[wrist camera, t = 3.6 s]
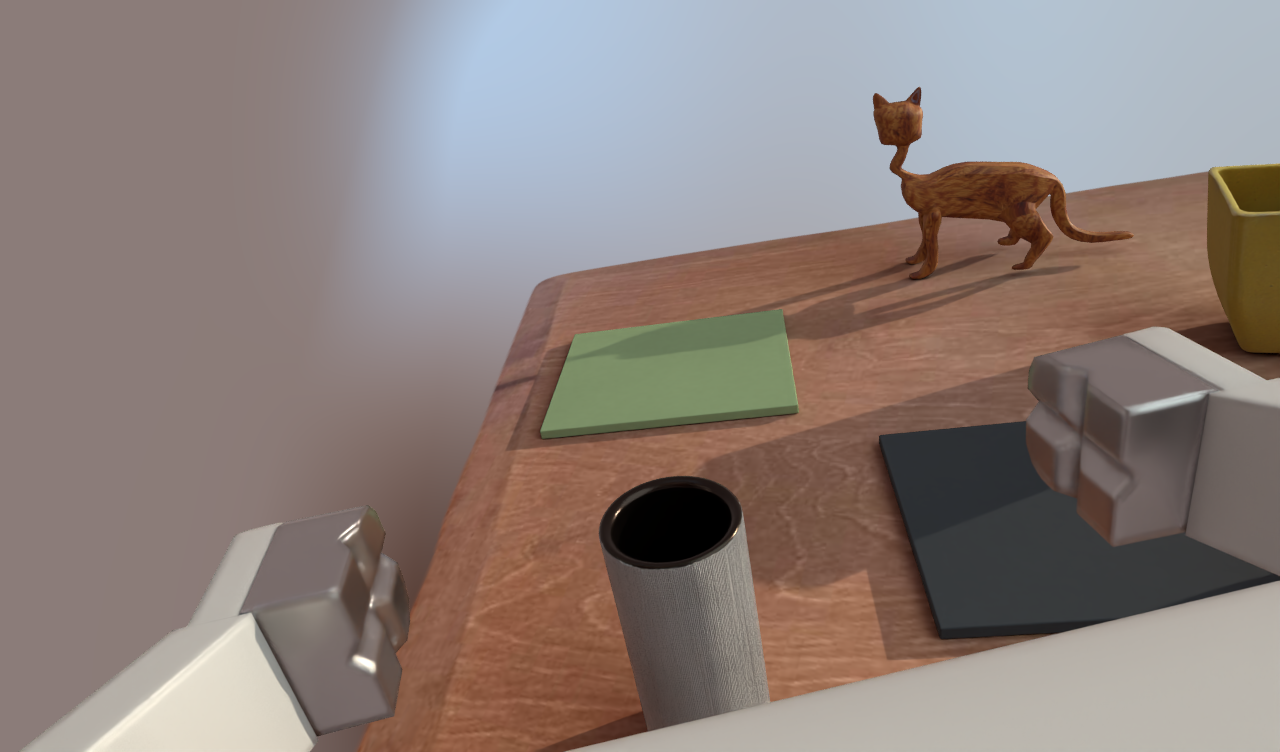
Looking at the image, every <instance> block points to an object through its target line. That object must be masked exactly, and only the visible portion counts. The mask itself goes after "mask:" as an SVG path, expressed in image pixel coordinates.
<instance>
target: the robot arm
mask: <svg viewBox="0 0 1280 752" xmlns="http://www.w3.org/2000/svg"><path fill="white" fill-rule="evenodd" d="M1028 389H1029V391H1030V392H1031V393H1032V394H1033V395H1034V396H1035V397H1036V399H1037V400H1038V401H1039V402H1038V403H1037V405H1036V406H1035V408H1034V409H1033V411H1032V412H1031V414H1030V415H1029V416H1028V418H1027V419H1026V445H1027V448H1028V452H1029V455H1030V458H1031V462H1032V464H1033V466H1034V468H1035V469H1036V471H1037V473H1038V474H1039V476H1040V477H1041V479H1042V480H1043V481H1044V482H1045V483H1046V484H1047V485H1048V486H1049V487H1050V488H1051V489H1052V490H1053V491H1056V492H1059V493H1062V494H1065V495H1068V496H1071V497H1074V498H1077V511H1076V513H1077V514H1078V515H1080V516H1081V517H1082V518H1083V519H1084V520H1085V521H1086V522H1087V523H1088V524H1089V525H1090V526H1091V527H1092V528H1093V529H1094V530H1095V531H1097V532H1098V533H1099V534H1100V535H1101V536H1102V537H1103V538H1104V539H1105V540H1106V541H1107V542H1108V543H1109V544H1110V545H1111V546H1112V547H1116V546H1121V545H1125V544H1130V543H1135V542H1140V541H1145V540H1150V539H1154V538H1159V537H1164V536H1169V535H1174V534H1179V533H1183V532H1186V536H1188V537H1190V538H1193V539H1195V540H1197V541H1199V542H1202V543H1204V544H1206V545H1209V546H1211V547H1213V548H1216V549H1218V550H1220V551H1223V552H1225V553H1227V554H1230V555H1232V556H1234V557H1237V558H1239V559H1241V560H1244V561H1246V562H1248V563H1251V564H1253V565H1255V566H1257V567H1260V568H1262V569H1264V570H1267V571H1269V572H1271V573H1274V574H1276V575H1278V576H1280V378H1276V379H1272V380H1265V379H1263V378H1262V377H1260V376H1258V375H1256V374H1254V373H1252V372H1250V371H1248V370H1246V369H1245V368H1243V367H1241V366H1239V365H1237V364H1235V363H1233V362H1231V361H1229V360H1227V359H1226V358H1224V357H1222V356H1220V355H1218V354H1216V353H1214V352H1212V351H1210V350H1209V349H1207V348H1205V347H1203V346H1201V345H1199V344H1197V343H1195V342H1193V341H1191V340H1190V339H1188V338H1186V337H1184V336H1182V335H1180V334H1178V333H1176V332H1174V331H1173V330H1171V329H1169V328H1164V327H1150V328H1146V329H1142V330H1139V331H1135V332H1131V333H1127V334H1123V335H1120V336H1116V337H1113V338H1109V339H1105V340H1101V341H1097V342H1093V343H1089V344H1085V345H1081V346H1077V347H1073V348H1069V349H1065V350H1061V351H1057V352H1053V353H1049V354H1045V355H1041V356H1038V357H1034V359H1033V362H1032V364H1031V367H1030V369H1029V378H1028ZM385 535H386V533H385V531H384V529H383V527H382V524H381V522H380V520H379V517H378V515H377V513H376V511H375V510H373V509H372V508H371V507H370V506H368V505H366V506H361V507H356V508H352V509H347V510H342V511H337V512H332V513H327V514H322V515H317V516H312V517H308V518H303V519H298V520H293V521H288V522H285V523H276V524H272V525H268V526H264V527H260V528H256V529H251V530H247V531H244V532H242V533H239V534H237V535H235V536H234V538H233V540H232V542H231V543H230V545H229V547H228V549H227V551H226V553H225V555H224V557H223V559H222V561H221V563H220V564H219V566H218V568H217V570H216V572H215V574H214V576H213V578H212V580H211V582H210V584H209V586H208V588H207V590H206V591H205V593H204V595H203V597H202V599H201V601H200V603H199V605H198V607H197V609H196V610H195V613H194V614H193V616H192V618H191V620H190V622H189V624H188V626H187V627H185V628H181V629H177V630H173V631H171V632H170V633H169V634H168V635H166V636H165V637H164V638H162V639H161V640H160V641H159V642H157V643H156V644H155V645H154V646H152V647H151V648H150V649H149V650H147V651H146V652H145V653H143V654H142V655H141V656H140V657H138V658H137V659H136V660H135V661H133V662H132V663H131V664H129V665H128V666H127V667H126V668H124V669H123V670H122V671H121V672H119V673H118V674H117V675H115V676H114V677H113V678H112V679H110V680H109V681H108V682H107V683H105V684H104V685H103V686H102V687H100V688H99V689H98V690H97V691H95V692H94V693H93V694H91V695H90V696H89V697H87V698H86V699H85V700H84V701H82V702H81V703H80V704H79V705H77V706H76V707H75V708H73V709H72V710H71V711H70V712H68V713H67V714H66V715H65V716H63V717H62V718H61V719H60V720H58V721H57V722H56V723H54V724H53V725H52V726H51V727H49V728H48V729H47V730H46V731H44V732H43V733H42V734H41V735H39V736H38V737H37V738H35V739H34V740H33V741H32V742H30V743H29V744H28V745H26V746H25V747H24V748H23V749H21V750H20V751H19V752H310V751H311V750H312V748H313V747H314V746H315V744H316V743H317V742H318V738H317V736H321V735H324V734H328V733H332V732H336V731H339V730H343V729H347V728H351V727H355V726H358V725H362V724H366V723H370V722H374V721H377V720H381V719H385V718H389V717H393V716H394V714H395V708H396V702H397V697H398V691H399V685H400V680H401V674H402V668H401V665H400V663H399V661H398V658H397V656H396V652H397V651H398V650H399V649H400V648H401V647H402V646H403V645H404V643H405V642H406V641H407V639H408V632H409V625H410V614H409V598H408V594H407V590H406V586H405V581H404V578H403V575H402V573H401V570H400V568H399V565H398V563H397V562H395V561H394V560H392V559H391V558H389V557H387V556H385V555H384V554H382V553H381V552H382V548H383V543H384V539H385ZM565 752H1280V581H1276V582H1272V583H1267V584H1263V585H1259V586H1255V587H1251V588H1246V589H1242V590H1238V591H1234V592H1230V593H1226V594H1221V595H1217V596H1213V597H1209V598H1205V599H1200V600H1196V601H1192V602H1188V603H1184V604H1179V605H1175V606H1171V607H1167V608H1163V609H1159V610H1154V611H1150V612H1146V613H1142V614H1138V615H1133V616H1129V617H1125V618H1121V619H1117V620H1112V621H1108V622H1104V623H1100V624H1096V625H1092V626H1087V627H1083V628H1079V629H1075V630H1071V631H1066V632H1062V633H1058V634H1054V635H1050V636H1045V637H1041V638H1037V639H1033V640H1029V641H1025V642H1020V643H1016V644H1012V645H1008V646H1004V647H999V648H995V649H991V650H987V651H983V652H978V653H974V654H970V655H966V656H962V657H958V658H953V659H949V660H945V661H941V662H937V663H933V664H929V665H924V666H920V667H916V668H912V669H908V670H904V671H900V672H895V673H891V674H887V675H883V676H879V677H875V678H871V679H866V680H862V681H858V682H854V683H850V684H846V685H841V686H837V687H833V688H829V689H825V690H820V691H816V692H812V693H808V694H804V695H799V696H795V697H791V698H787V699H783V700H779V701H774V702H770V703H766V704H762V705H758V706H753V707H749V708H745V709H741V710H737V711H732V712H728V713H724V714H720V715H716V716H712V717H707V718H703V719H699V720H695V721H691V722H686V723H682V724H678V725H674V726H670V727H665V728H661V729H657V730H653V731H649V732H645V733H640V734H636V735H632V736H628V737H624V738H619V739H615V740H611V741H607V742H603V743H598V744H594V745H590V746H586V747H582V748H578V749H573V750H569V751H565Z"/></svg>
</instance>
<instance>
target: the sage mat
mask: <svg viewBox="0 0 1280 752" xmlns="http://www.w3.org/2000/svg"><path fill="white" fill-rule="evenodd" d="M793 413H799V409H798V401H797V395H796V389H795V383H794V377H793V371H792V365H791V359H790V353H789V347H788V341H787V335H786V329H785V323H784V317H783V311H782V309H779V310H771V311H763V312H755V313H746V314H738V315H730V316H722V317H714V318H705V319H697V320H689V321H681V322H673V323H664V324H656V325H648V326H640V327H632V328H623V329H615V330H607V331H599V332H591V333H582V334H575V336H574V339H573V341H572V344H571V347H570V350H569V352H568V355H567V358H566V361H565V364H564V366H563V369H562V372H561V375H560V377H559V380H558V383H557V386H556V388H555V391H554V394H553V397H552V400H551V402H550V405H549V408H548V411H547V413H546V416H545V419H544V422H543V425H542V427H541V430H540V433H541V437H542V439H547V438H557V437H566V436H576V435H586V434H596V433H606V432H616V431H626V430H635V429H645V428H655V427H665V426H675V425H685V424H695V423H704V422H714V421H724V420H734V419H744V418H754V417H764V416H773V415H783V414H793Z"/></svg>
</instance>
